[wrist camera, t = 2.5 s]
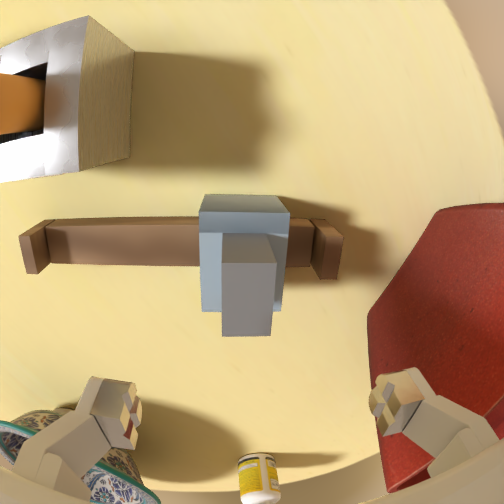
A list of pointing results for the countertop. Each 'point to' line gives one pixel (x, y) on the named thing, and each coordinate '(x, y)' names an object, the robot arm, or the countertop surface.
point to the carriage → (243, 260)
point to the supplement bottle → (258, 479)
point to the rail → (161, 243)
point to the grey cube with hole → (71, 100)
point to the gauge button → (21, 103)
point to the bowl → (98, 477)
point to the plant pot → (444, 326)
